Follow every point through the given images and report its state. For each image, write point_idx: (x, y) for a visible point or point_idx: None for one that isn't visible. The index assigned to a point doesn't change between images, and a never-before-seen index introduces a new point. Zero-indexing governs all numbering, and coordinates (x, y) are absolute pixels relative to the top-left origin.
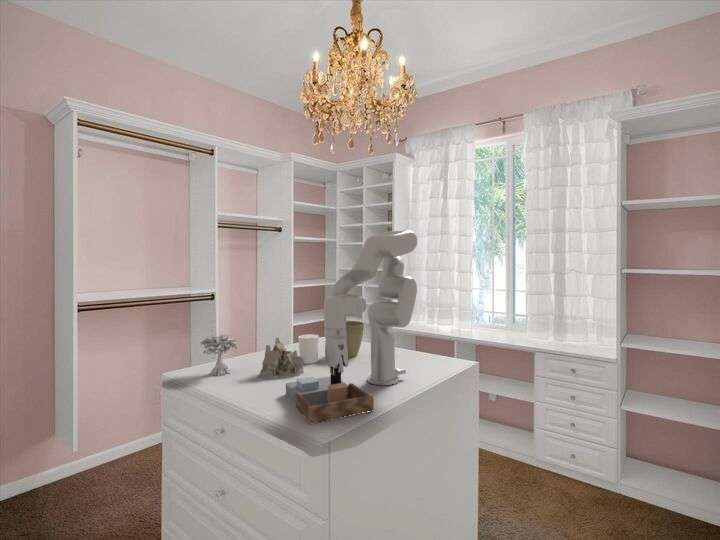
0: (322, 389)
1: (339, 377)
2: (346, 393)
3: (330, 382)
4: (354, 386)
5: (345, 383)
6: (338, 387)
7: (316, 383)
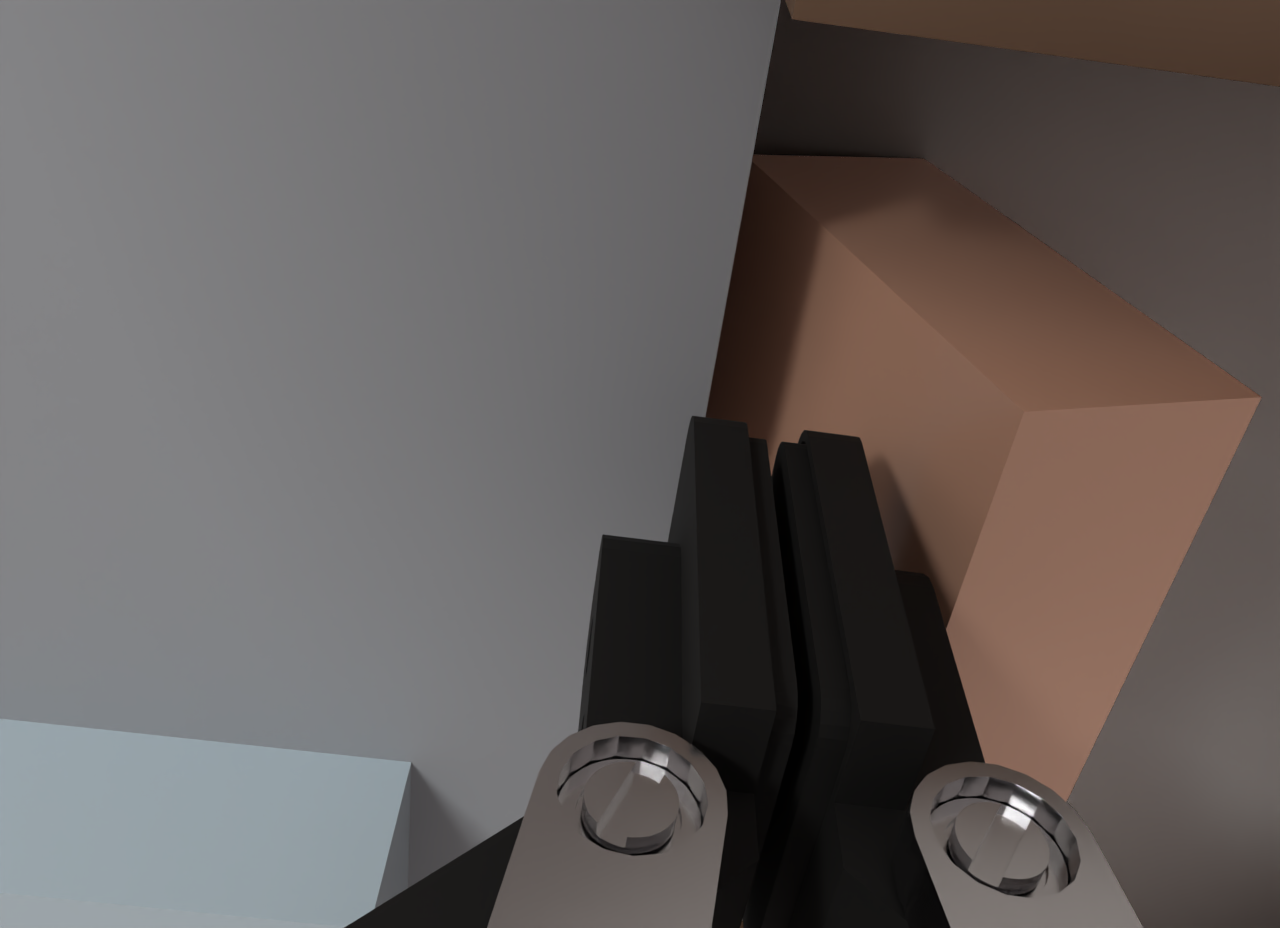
0: (542, 736)
1: (971, 740)
2: (1074, 275)
3: (10, 301)
4: (1267, 18)
5: (1082, 410)
6: (1094, 670)
7: None
